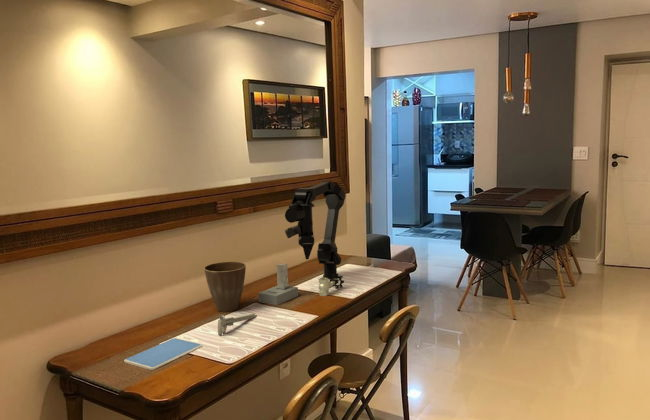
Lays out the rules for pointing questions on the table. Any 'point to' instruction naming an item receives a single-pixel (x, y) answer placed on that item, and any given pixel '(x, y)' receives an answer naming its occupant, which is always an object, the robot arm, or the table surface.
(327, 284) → the valve
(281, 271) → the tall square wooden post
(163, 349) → the tablet computer
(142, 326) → the table surface
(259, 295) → the bore block
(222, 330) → the caliper
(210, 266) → the plant pot
